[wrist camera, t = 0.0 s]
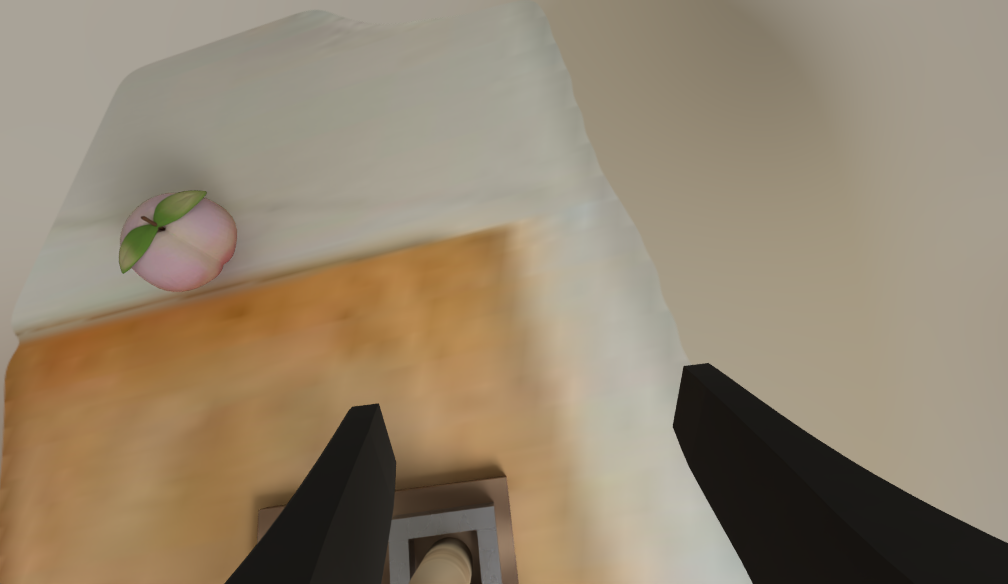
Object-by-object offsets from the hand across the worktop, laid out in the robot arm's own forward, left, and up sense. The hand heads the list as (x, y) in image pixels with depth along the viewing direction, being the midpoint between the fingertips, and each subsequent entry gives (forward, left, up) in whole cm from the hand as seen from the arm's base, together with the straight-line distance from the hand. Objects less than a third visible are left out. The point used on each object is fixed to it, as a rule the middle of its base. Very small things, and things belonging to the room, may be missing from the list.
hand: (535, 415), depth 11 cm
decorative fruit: (+20, +28, -32) cm, 47 cm away
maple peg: (-10, +6, -31) cm, 33 cm away
